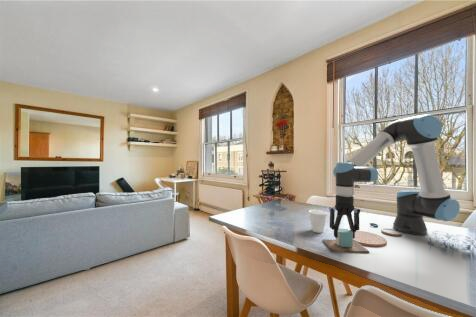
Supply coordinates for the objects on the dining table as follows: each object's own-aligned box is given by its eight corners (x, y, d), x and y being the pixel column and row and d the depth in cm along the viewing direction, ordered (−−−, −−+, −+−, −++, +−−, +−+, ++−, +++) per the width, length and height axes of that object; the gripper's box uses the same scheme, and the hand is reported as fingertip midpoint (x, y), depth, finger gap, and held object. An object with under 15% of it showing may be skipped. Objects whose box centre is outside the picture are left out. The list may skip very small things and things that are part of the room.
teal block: (347, 242, 98) (347, 228, 98) (352, 247, 92) (352, 232, 92) (336, 242, 98) (336, 228, 98) (340, 246, 93) (340, 232, 93)
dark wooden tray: (355, 242, 100) (355, 227, 100) (369, 253, 89) (369, 237, 89) (322, 240, 102) (322, 227, 102) (331, 251, 90) (331, 236, 90)
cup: (329, 235, 110) (329, 214, 110) (309, 233, 112) (309, 213, 112) (324, 228, 119) (325, 210, 119) (307, 227, 121) (307, 209, 121)
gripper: (360, 194, 98) (360, 241, 98) (321, 193, 100) (321, 240, 99) (369, 197, 91) (368, 248, 91) (327, 196, 92) (327, 247, 92)
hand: (344, 244), depth 95 cm, fingers closed on teal block, 5 cm apart
